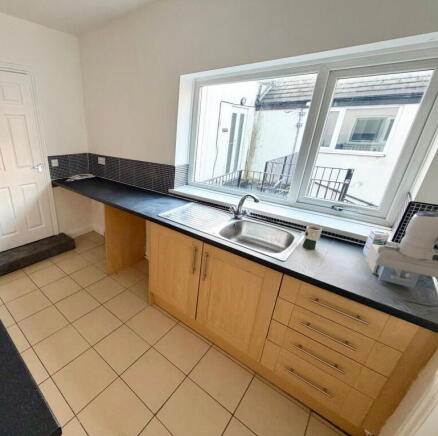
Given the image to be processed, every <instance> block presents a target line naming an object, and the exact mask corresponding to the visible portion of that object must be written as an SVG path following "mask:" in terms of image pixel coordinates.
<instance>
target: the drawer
mask: <svg viewBox="0 0 438 436" xmlns="http://www.w3.org/2000/svg"><path fill="white" fill-rule="evenodd" d="M376 271H377V273H378V275H377V276H378V277H377V279H378V281H383V282H387V283H392V284H395V285H400V286H404V287H409V288H412V289H414V288H415V287H416V285H417V283H418V280H419V278H420V276H421V274H417V273H414V275H413V276H411V277H409V278H408V279H405V278H400V277H396V275H397V273H396V270H395V269H393V268H389V267H384V266H379V265H378V267H377V269H376ZM399 273H400V274H401V275H405V274H407V273H408V272H407V271H403V270H402V272H399Z"/></svg>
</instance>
